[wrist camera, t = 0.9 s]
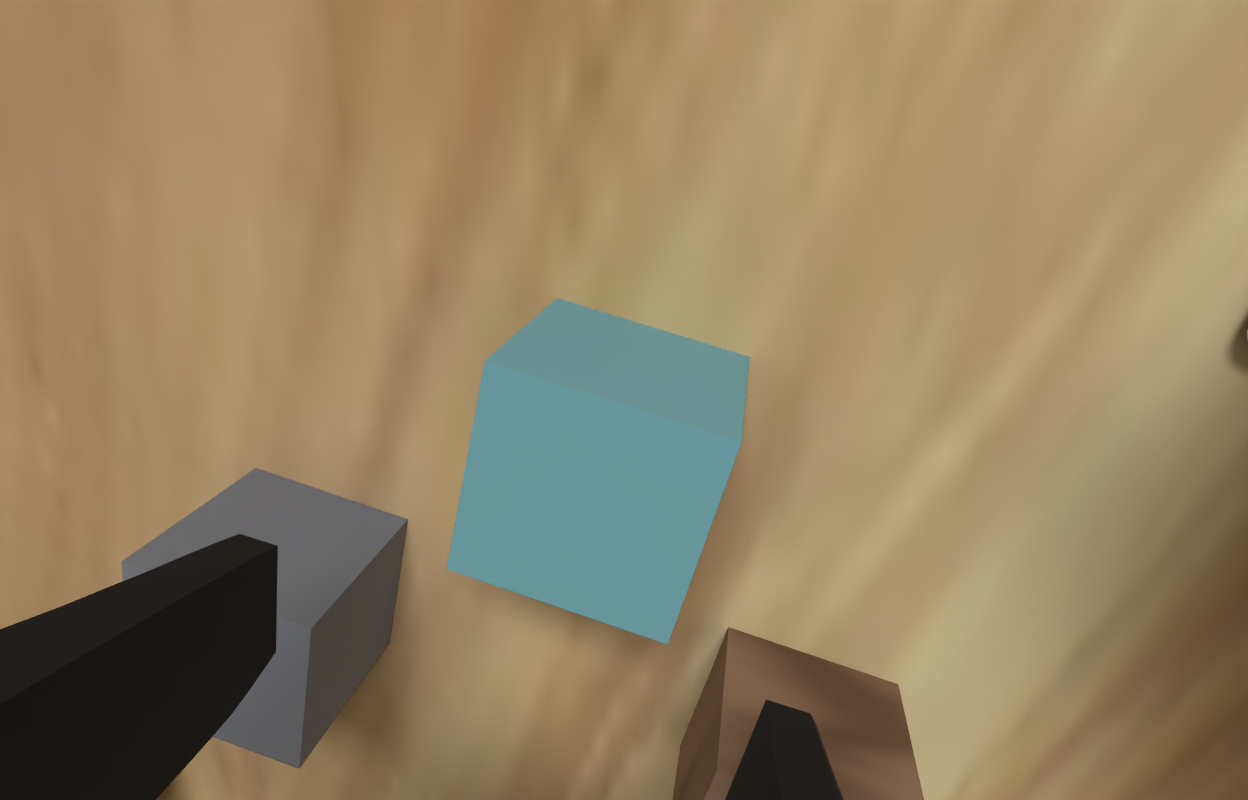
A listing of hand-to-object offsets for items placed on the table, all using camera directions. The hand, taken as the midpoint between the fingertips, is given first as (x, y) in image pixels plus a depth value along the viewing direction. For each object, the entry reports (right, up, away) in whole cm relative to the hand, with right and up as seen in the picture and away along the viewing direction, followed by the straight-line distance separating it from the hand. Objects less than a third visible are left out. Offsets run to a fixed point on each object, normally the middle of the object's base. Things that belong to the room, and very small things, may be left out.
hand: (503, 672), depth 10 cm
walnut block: (+6, -6, +11) cm, 14 cm away
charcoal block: (-8, -1, +13) cm, 15 cm away
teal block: (+2, +4, +9) cm, 10 cm away
